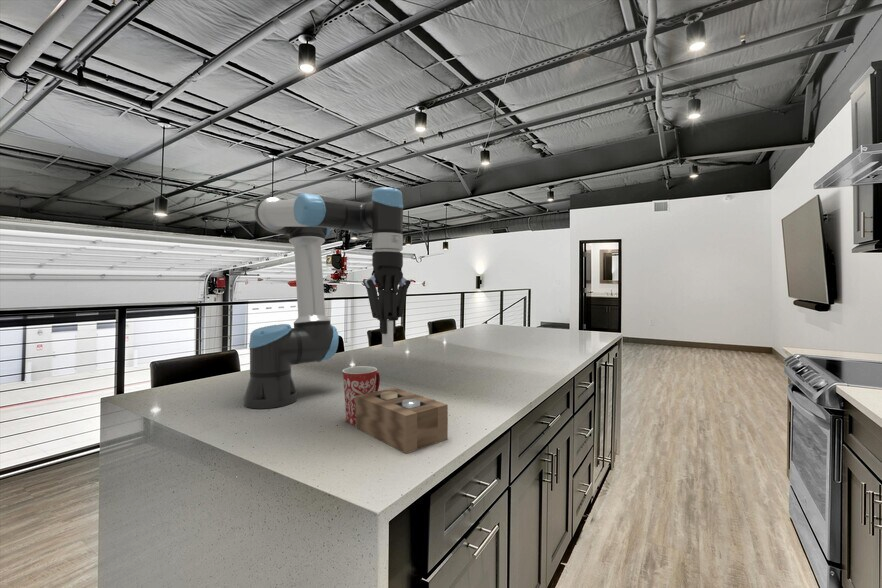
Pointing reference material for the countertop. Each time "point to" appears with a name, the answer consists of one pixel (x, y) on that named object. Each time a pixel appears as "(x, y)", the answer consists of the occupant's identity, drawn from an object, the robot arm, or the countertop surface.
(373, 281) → the robot arm
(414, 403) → the steel peg
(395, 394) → the beech peg
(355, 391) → the mug
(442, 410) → the socket block
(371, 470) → the countertop surface
